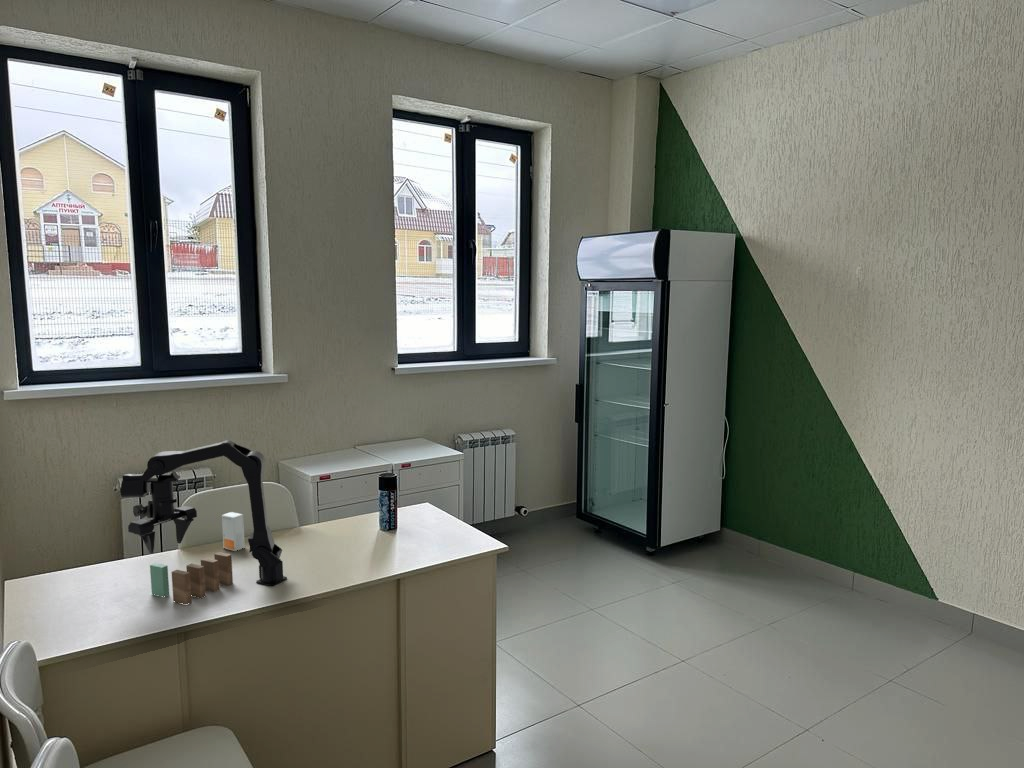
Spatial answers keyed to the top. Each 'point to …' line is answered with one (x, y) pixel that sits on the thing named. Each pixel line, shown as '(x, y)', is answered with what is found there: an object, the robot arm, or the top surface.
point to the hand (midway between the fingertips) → (165, 548)
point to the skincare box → (233, 531)
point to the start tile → (159, 579)
